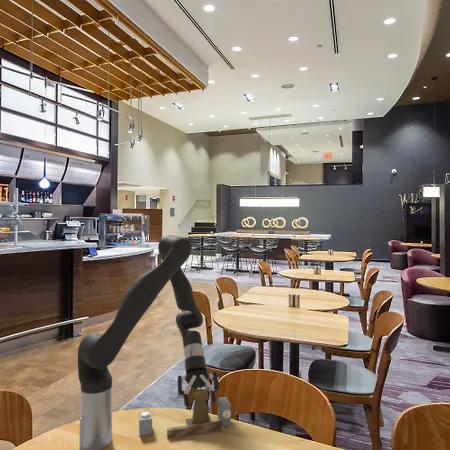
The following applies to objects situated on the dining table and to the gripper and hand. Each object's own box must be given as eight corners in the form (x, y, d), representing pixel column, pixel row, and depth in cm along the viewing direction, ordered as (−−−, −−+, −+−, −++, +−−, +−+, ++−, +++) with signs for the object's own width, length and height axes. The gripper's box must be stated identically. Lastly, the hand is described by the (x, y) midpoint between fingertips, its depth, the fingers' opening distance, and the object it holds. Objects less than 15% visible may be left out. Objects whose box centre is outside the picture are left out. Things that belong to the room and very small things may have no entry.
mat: (189, 433, 119) (189, 432, 119) (185, 420, 128) (185, 419, 128) (214, 429, 122) (214, 428, 122) (209, 417, 130) (209, 415, 130)
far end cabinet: (222, 427, 123) (222, 406, 123) (217, 417, 129) (217, 397, 129) (231, 426, 124) (231, 405, 124) (226, 416, 130) (226, 396, 130)
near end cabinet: (139, 435, 118) (139, 418, 118) (138, 427, 123) (138, 411, 123) (152, 434, 119) (152, 417, 119) (151, 426, 124) (151, 409, 124)
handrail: (167, 438, 116) (167, 430, 116) (166, 435, 118) (167, 428, 118) (222, 430, 121) (222, 422, 121) (221, 428, 123) (221, 420, 123)
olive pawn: (209, 418, 128) (209, 386, 128) (209, 427, 122) (209, 394, 122) (192, 418, 128) (192, 386, 128) (191, 428, 122) (191, 394, 122)
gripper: (176, 356, 130) (180, 404, 119) (215, 352, 134) (223, 398, 123) (174, 365, 135) (178, 412, 124) (211, 362, 139) (219, 407, 128)
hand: (200, 405), depth 123 cm, fingers open, 8 cm apart
